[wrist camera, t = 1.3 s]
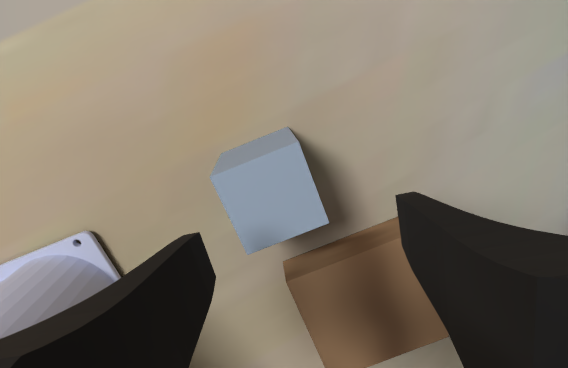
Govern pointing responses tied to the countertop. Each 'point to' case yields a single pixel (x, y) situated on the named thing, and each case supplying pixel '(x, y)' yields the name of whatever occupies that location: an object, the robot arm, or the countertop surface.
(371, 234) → the base
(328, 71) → the countertop surface
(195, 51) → the countertop surface
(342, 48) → the countertop surface
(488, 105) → the countertop surface
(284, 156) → the block
